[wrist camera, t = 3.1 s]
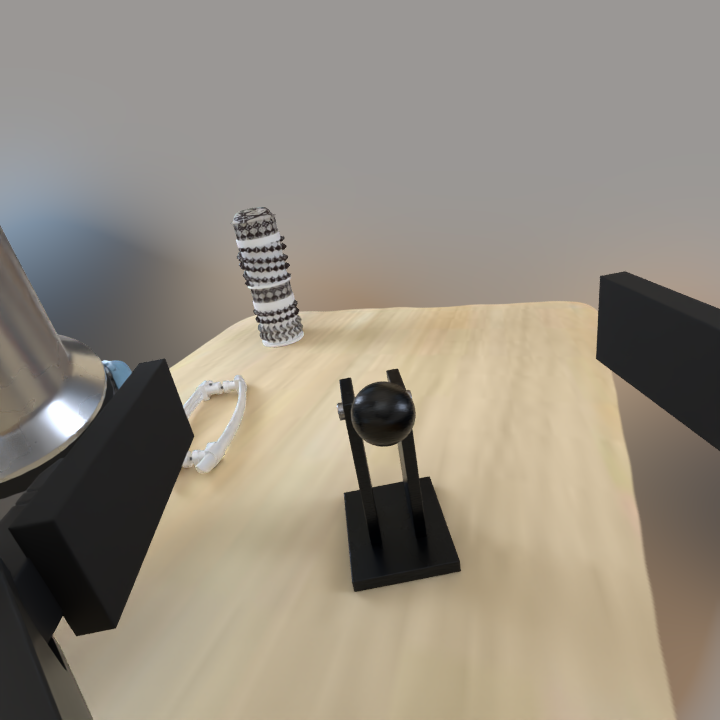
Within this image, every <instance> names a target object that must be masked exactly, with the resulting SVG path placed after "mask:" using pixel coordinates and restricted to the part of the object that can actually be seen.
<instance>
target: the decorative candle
mask: <svg viewBox="0 0 720 720" xmlns="http://www.w3.org/2000/svg"><path fill="white" fill-rule="evenodd" d="M274 215H275V214H272V213H271V212H270V211H269V210H268V209H267V208H265V207H259V208H252V209H247V210H243V211H240V212H238V213H236V214H235V216H234V220H233V222H231V224H233V226H234V229H235V234H236V236H237V240H236V242H237V246H238V248H239V251H240V252H239V253H238V256H237V258H238V259H239V261H241V263H240V264H239V266H240V267H241V269H243V270H245V271H244V274H243V277H244V278H245V280H247V281H246V282H245V284H246V285H247V287H248V288H249V289H251V293H252V296H253V304H254V308H255V310H254V313H255V315H257V317H256V320H257V322H258V323H260V324H259V325H258V330H259V331H260V332H261V333H260V337H261V338H262V339H263V340H262V343H263V344H264V346H267V347H280V346H286V345H289V344H292V343H294V342H296V341H298V340H300V339H301V338H302V337H303V336H304V332H303V331H302V327H303V325H301V318H300V317H299V315H297V314H298V312H299V309H298V308H297V307H296V306H297V301H296V300H295V299H294V294H293V292H292V289H291V285H290V281H289V280H290V279H291V274H289V273H287V271H286V269H287V268H288V267H289V266H290V265H289V263H285V260H286V259H287V258H288V256H287V255H285V254H284V255H283V254H282V250H283V249H285V248H286V245H285V244H283V243H282V244H280V241H283V239H284V237H282V236H280V234H279V231H278V229H277V225H276V220H275V216H274ZM244 265H245V266H244Z"/></svg>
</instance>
